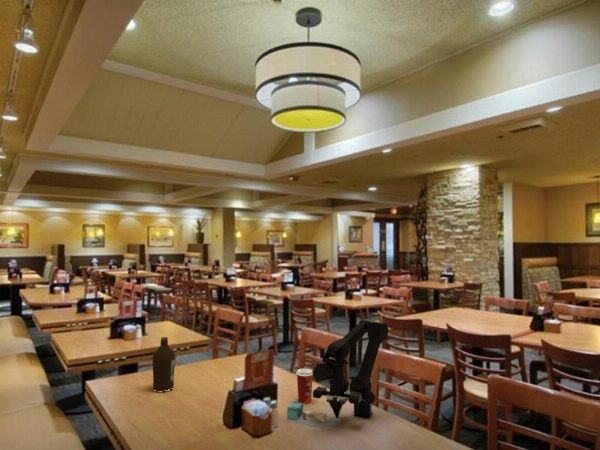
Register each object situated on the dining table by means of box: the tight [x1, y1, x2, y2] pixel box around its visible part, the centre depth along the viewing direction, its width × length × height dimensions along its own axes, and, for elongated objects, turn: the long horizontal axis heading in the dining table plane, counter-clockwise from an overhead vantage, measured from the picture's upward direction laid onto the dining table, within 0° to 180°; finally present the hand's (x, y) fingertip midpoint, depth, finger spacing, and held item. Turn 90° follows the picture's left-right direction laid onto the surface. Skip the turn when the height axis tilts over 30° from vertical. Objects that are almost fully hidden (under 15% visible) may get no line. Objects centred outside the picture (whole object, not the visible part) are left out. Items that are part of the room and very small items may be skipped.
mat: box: [284, 414, 343, 431], centre depth 168 cm, size 20×12×1 cm, turn 66°
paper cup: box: [295, 368, 314, 405], centre depth 188 cm, size 8×8×14 cm
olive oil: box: [152, 336, 176, 391], centre depth 206 cm, size 11×11×25 cm
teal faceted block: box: [286, 401, 304, 420], centre depth 171 cm, size 4×7×4 cm, turn 156°
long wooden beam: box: [303, 409, 327, 423], centre depth 168 cm, size 9×3×3 cm, turn 66°
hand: (337, 417), depth 164 cm, fingers closed
